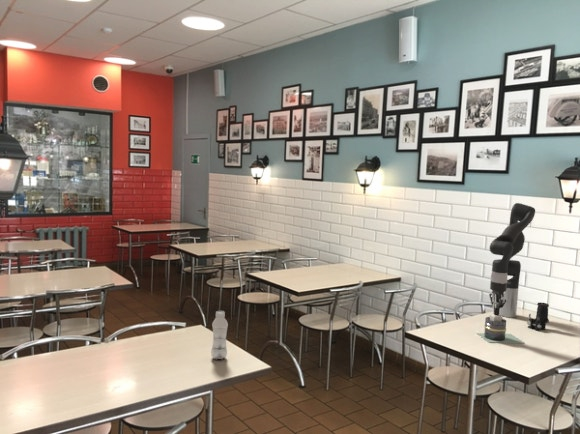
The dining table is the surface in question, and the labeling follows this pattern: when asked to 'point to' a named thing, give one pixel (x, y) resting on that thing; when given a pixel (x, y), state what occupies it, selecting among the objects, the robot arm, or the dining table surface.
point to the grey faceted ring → (495, 329)
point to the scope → (539, 317)
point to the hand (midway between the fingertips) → (496, 314)
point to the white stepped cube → (495, 318)
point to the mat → (508, 339)
